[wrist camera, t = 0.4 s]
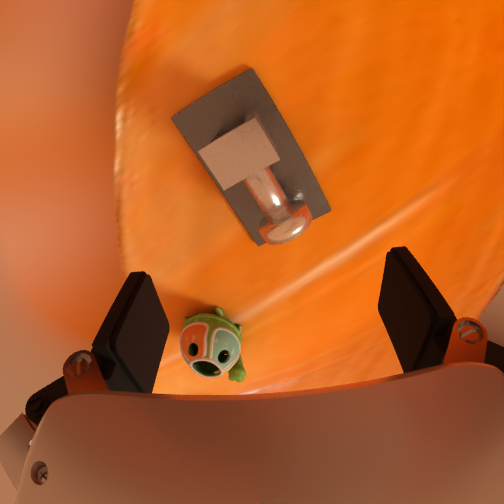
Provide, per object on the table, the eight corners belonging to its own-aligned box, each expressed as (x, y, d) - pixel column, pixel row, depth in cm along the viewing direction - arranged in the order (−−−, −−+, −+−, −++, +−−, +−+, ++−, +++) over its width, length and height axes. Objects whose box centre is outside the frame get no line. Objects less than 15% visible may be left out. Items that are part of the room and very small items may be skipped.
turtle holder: (222, 359, 70) (218, 399, 60) (173, 317, 62) (161, 359, 52) (263, 343, 66) (264, 386, 56) (216, 296, 58) (209, 341, 48)
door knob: (214, 150, 40) (206, 165, 34) (262, 123, 38) (263, 132, 31) (263, 225, 47) (264, 252, 40) (307, 203, 45) (317, 227, 38)
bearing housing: (172, 117, 39) (151, 126, 31) (252, 68, 35) (251, 63, 27) (258, 244, 51) (258, 277, 43) (330, 208, 47) (345, 236, 39)
